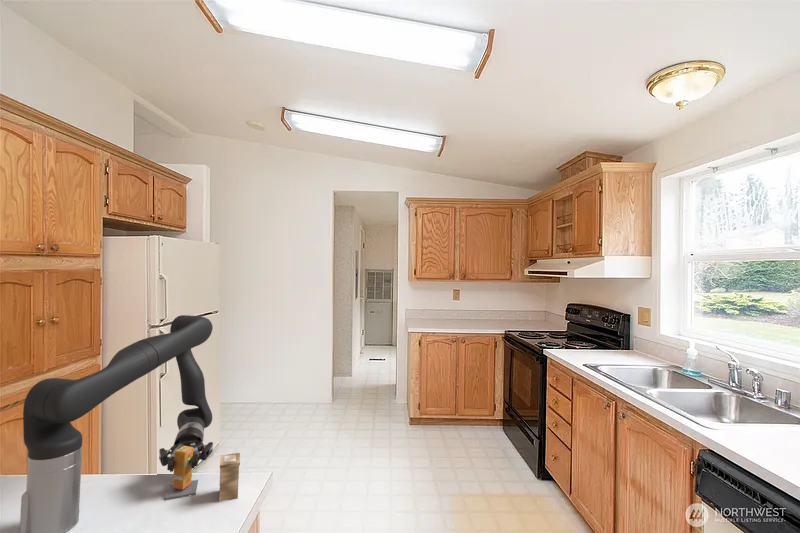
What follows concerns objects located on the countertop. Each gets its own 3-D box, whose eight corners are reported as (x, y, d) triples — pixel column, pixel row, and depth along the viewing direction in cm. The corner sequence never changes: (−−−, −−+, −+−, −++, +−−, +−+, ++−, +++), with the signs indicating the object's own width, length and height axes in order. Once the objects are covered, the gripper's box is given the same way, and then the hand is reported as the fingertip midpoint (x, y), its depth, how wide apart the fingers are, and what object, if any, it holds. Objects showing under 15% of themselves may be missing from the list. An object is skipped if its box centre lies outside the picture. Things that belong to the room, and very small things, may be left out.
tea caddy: (218, 502, 99) (219, 464, 99) (219, 490, 105) (220, 454, 105) (238, 498, 101) (240, 462, 101) (238, 486, 106) (239, 452, 107)
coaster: (164, 500, 99) (165, 498, 99) (169, 485, 106) (169, 484, 106) (195, 494, 102) (195, 492, 102) (198, 481, 108) (198, 479, 108)
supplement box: (183, 490, 102) (184, 452, 102) (172, 488, 103) (173, 450, 103) (192, 483, 105) (193, 446, 105) (181, 481, 106) (182, 445, 106)
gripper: (162, 429, 115) (150, 456, 99) (216, 423, 120) (213, 448, 104) (161, 455, 115) (149, 486, 99) (215, 448, 120) (212, 476, 104)
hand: (182, 466), depth 102 cm, fingers closed on supplement box, 4 cm apart
